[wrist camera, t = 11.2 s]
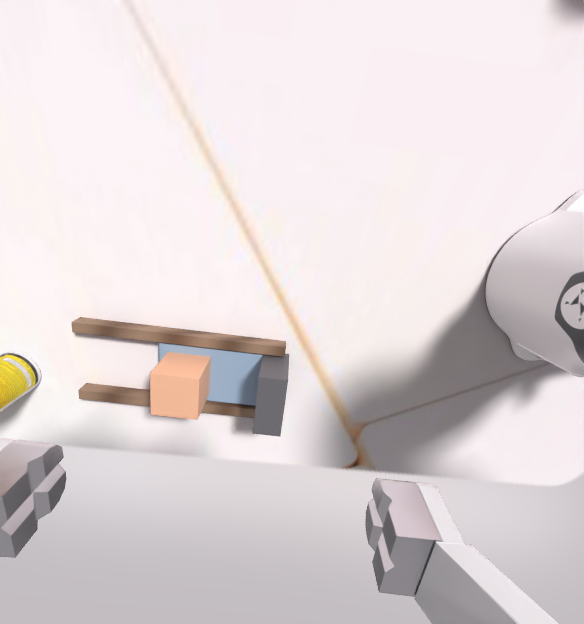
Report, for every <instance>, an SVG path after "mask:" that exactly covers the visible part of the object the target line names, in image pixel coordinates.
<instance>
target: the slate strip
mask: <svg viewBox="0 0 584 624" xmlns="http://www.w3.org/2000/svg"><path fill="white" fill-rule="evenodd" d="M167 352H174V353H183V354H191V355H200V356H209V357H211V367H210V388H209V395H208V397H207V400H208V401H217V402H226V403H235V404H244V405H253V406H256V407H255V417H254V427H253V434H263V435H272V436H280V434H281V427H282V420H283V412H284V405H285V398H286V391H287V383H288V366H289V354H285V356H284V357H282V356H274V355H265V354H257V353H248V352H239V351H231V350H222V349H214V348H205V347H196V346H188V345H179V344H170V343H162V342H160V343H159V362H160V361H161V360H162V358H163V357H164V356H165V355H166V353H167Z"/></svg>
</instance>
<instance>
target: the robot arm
mask: <svg viewBox="0 0 584 624" xmlns="http://www.w3.org/2000/svg"><path fill="white" fill-rule="evenodd" d="M486 302H487V307H488V310H489V313H490V315H491V317H492V319H493V320H494V322H495V323H496V324H497V325H498V327H499V328H501V329H502V330H503V331H504V332H505V333H506V334H507V336H508V337H509V338H510V342H511V345H512V348H513V351H514V353H515V354H516V356H518V357H519V358H521V359H523V360H526V361H534V360H546V361H548V362H550V363H552V364H554V365H555V366H557V367H559V368H561V369H563V370H565V371H566V372H568V373H570V374H572V375H574V376H577V377H584V189H583V190H581V191H578V192H577V193H575V194H574V195H573V196H572V197H570V198H569V199H568V200H567V201H566V202H565V203H564V204H563V205H562V206H561V207H560V208H559V209H558V210H556V211H555V212H553V213H551V214H549V215H547V216H545V217H543V218H540V219H538V220H536V221H534V222H532V223H531V224H529V225H527V226H526V227H524V228H523V229H521V230H520V231H519V232H518V233H516V234H515V235H514V236H513V237H512V238H511V239H510V240H509V241H508V242H507V243H506V244H505V245H504V247H503V248H502V249H501V251H500V252H499V253H498V255H497V257H496V258H495V260H494V262H493V264H492V266H491V269H490V272H489V275H488V278H487V283H486ZM62 458H63V452H62V447H61V446H58V445H54V444H47V443H39V442H32V441H24V440H13V439H6V438H0V557H14V558H15V557H16V556H17V555H18V553H19V552H20V551H21V550H22V548H23V547H24V546H25V544H26V543H27V542H28V541H29V539H30V538H31V537H32V535H33V534H34V533H35V532H36V530H37V522H38V519H40V518H42V517H43V516H45V515H46V514H48V513H50V512H51V511H52V510H53V508H54V507H55V506H56V504H57V503H58V502H59V500H60V498H61V495H62V493H63V491H64V489H65V482H66V472H65V470H64V469H63V468H62V467H61V466H60V465H59V464H58V463H59V462H60V461H61V460H62ZM372 493H373V497H374V498H373V499H372V500H371V501H370V502H368V506H367V511H366V533H367V538H368V543H369V545H370V546H371V547H372V548H373V550H374V551H375V555H374V558H373V567H374V571H375V576H376V581H377V585H378V590H379V592H382V593H390V594H398V595H405V596H413V597H415V600H416V601H417V603H418V604H419V606H420V607H421V608H422V610H423V611H424V613H425V614H426V616H427V617H428V619H429V620H430V621H431V623H432V624H558V623H557V622H556V621H555V620H554V619H553V618H551V617H550V616H549V615H548V614H547V613H546V612H545V611H544V610H543V609H541V608H540V607H539V606H538V605H537V604H536V603H535V602H534V601H533V600H532V599H530V598H529V597H528V596H527V595H526V594H525V593H524V592H523V591H522V590H520V589H519V588H518V587H517V586H516V585H515V584H514V583H513V582H512V581H510V580H509V579H508V578H507V577H506V576H505V575H504V574H503V573H502V572H501V571H499V570H498V569H497V568H496V567H495V566H494V565H493V564H492V563H491V562H489V561H488V560H487V559H486V558H485V557H484V556H483V555H482V554H481V553H480V552H478V551H477V550H476V549H475V548H474V547H473V546H472V545H467V544H465V543H464V541H463V539H462V537H461V535H460V533H459V531H458V529H457V527H456V525H455V523H454V521H453V519H452V517H451V515H450V513H449V511H448V509H447V507H446V505H445V503H444V501H443V499H442V497H441V495H440V493H439V491H438V489H437V487H436V486H435V485H434V484H430V483H419V482H408V481H398V480H387V479H376V480H375V481H374V484H373V487H372Z"/></svg>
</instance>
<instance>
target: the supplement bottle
mask: <svg viewBox="0 0 584 624" xmlns="http://www.w3.org/2000/svg"><path fill="white" fill-rule="evenodd" d="M40 379H41V372H40V369H39V367H38V365H37V364H36V362H35V361H34V360H33V359H32V358H30V357H29V356H27V355H25V354H23V353H19V352H7V353H4V354H2V355H0V412H2V411H3V410H5V409H6V408H7V407H9V406H10V405H11V404H13V403H14V402H16V401H17V400H18V399H20V398H21V397H23V396H24V395H25V394H27V393H28V392H30V391H31V390H32V389H34V388H35V387H36V386H37V385H38V384H39V382H40Z"/></svg>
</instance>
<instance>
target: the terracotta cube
mask: <svg viewBox="0 0 584 624" xmlns="http://www.w3.org/2000/svg"><path fill="white" fill-rule="evenodd" d="M210 367H211V357H209V356H200V355H191V354H183V353H174V352H167V353H166V355H165V356H164V357H163V358H162V360H161V361H160V362H159V363H158V364H157V366H156V367H155V368H154V369H153V370H152V372H151V373H150V400H151V415H159V416H168V417H177V418H187V419H196V420H198V418H199V416H200V413H201V411H202V409H203V407H204V404H205V402H206V400H207V397H208V395H209V388H210Z"/></svg>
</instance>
